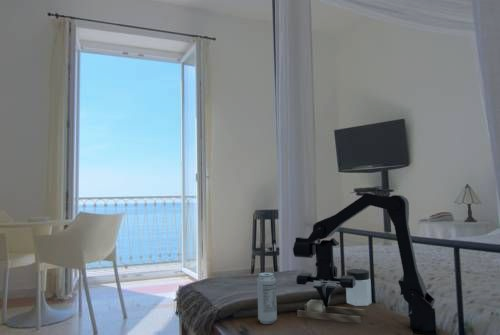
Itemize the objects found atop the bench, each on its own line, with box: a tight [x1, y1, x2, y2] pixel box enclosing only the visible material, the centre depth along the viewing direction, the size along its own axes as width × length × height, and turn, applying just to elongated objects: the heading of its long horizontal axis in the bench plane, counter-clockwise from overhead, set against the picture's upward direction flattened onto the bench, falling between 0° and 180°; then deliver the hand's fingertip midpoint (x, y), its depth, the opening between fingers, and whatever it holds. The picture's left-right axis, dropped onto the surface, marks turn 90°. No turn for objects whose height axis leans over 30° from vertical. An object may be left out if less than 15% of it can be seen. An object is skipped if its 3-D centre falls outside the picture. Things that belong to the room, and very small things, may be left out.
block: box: [306, 299, 327, 313], centre depth 128 cm, size 5×5×4 cm
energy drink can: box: [256, 272, 278, 325], centre depth 124 cm, size 6×6×15 cm
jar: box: [345, 268, 372, 307], centre depth 141 cm, size 9×8×12 cm
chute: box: [296, 303, 365, 324], centre depth 126 cm, size 20×9×2 cm, turn 65°
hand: (326, 306), depth 127 cm, fingers closed
